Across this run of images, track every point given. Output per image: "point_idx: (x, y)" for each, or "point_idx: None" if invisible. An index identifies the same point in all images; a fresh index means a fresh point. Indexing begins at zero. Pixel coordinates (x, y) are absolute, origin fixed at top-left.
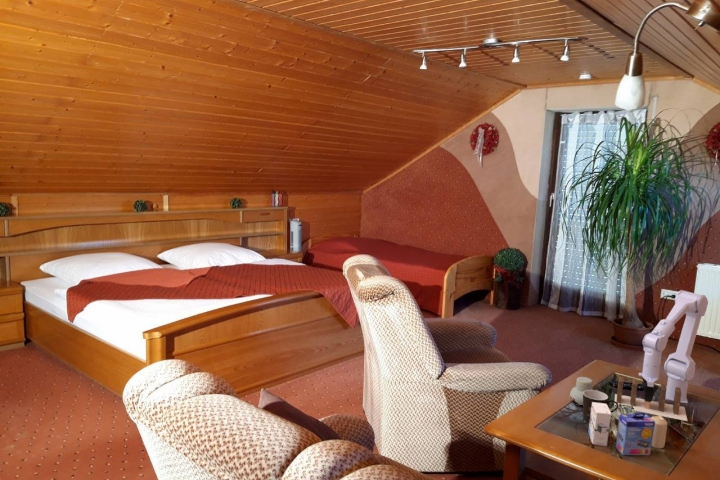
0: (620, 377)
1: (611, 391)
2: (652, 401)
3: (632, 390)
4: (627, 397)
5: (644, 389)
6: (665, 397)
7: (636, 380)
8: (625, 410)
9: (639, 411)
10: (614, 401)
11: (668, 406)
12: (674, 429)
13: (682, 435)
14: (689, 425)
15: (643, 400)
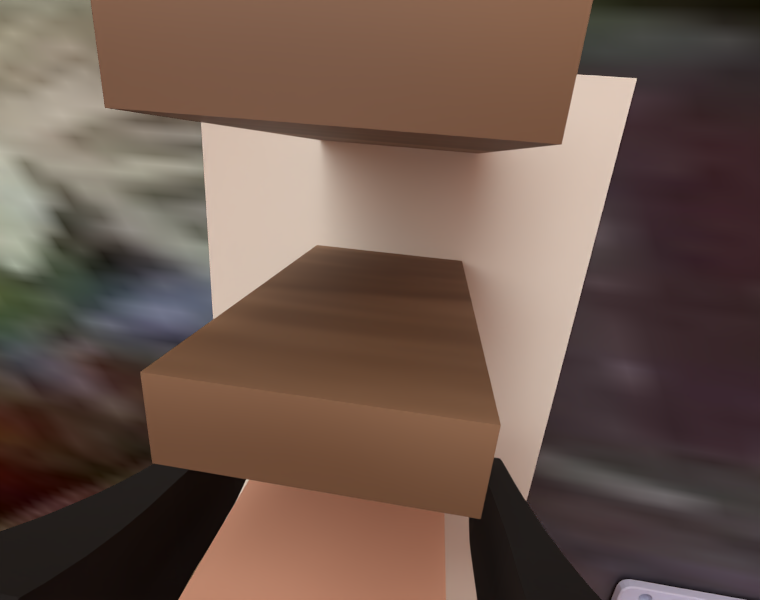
0: (539, 17)
1: (755, 29)
2: (522, 469)
3: (233, 312)
4: (552, 238)
5: (29, 531)
6: (651, 592)
7: (442, 497)
8: (186, 181)
9: (214, 315)
10: None
11: (450, 561)
12: (58, 497)
13: (3, 518)
14: (182, 592)
15: (517, 395)
